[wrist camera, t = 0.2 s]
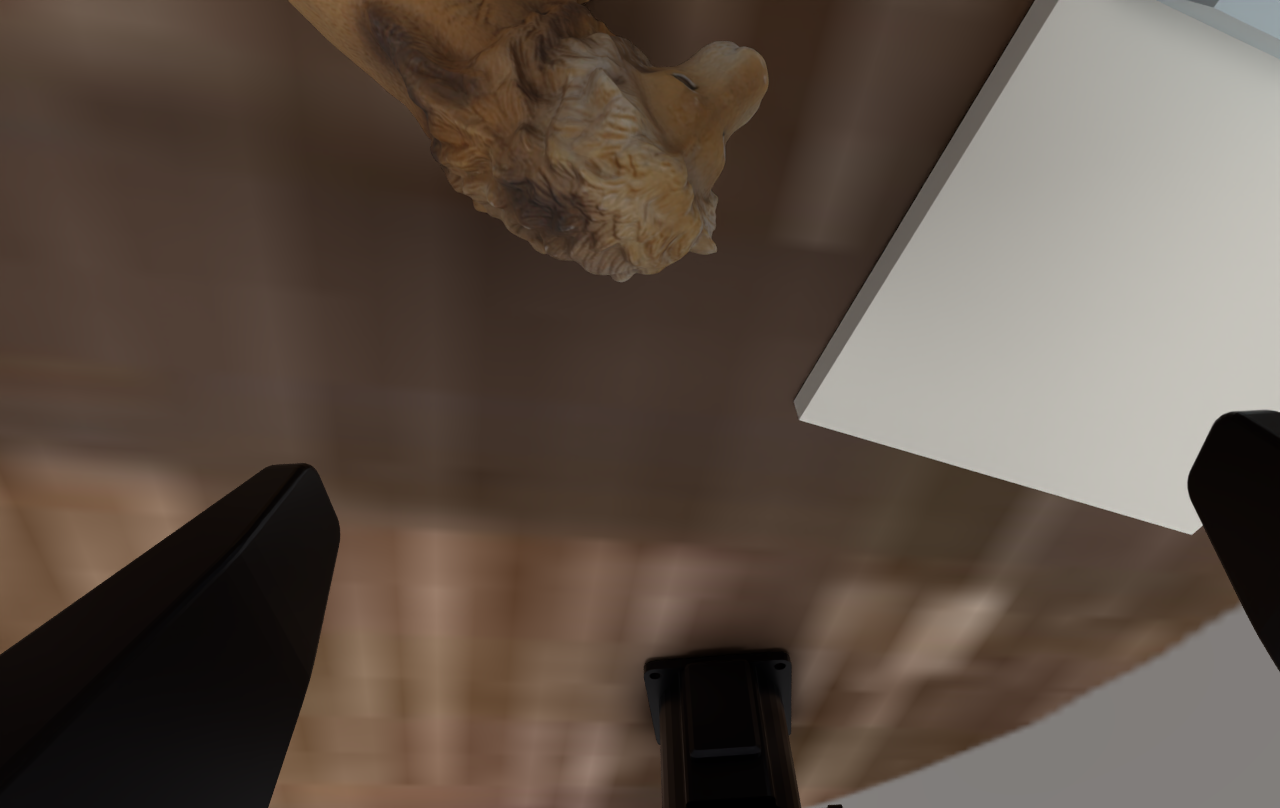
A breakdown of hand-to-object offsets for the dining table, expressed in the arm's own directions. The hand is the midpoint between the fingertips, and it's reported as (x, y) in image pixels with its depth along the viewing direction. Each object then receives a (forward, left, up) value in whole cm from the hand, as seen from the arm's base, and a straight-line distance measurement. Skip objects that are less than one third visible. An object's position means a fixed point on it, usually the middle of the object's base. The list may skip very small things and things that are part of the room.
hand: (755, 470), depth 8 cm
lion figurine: (+4, +5, -14) cm, 16 cm away
